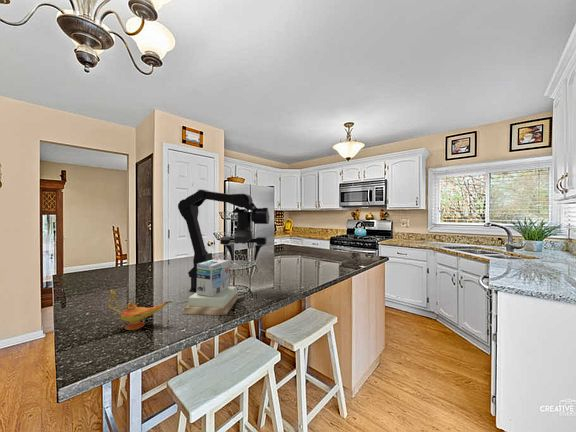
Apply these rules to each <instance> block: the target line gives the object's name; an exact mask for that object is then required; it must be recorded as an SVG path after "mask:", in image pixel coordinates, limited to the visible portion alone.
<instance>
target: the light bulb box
mask: <svg viewBox="0 0 576 432" xmlns="http://www.w3.org/2000/svg"><path fill="white" fill-rule="evenodd" d="M229 277H230V260H227V259H219V258H213V260H209V261H206V262H202V263H198V264H197V291H196V292H197V294H199V295H205V296H210V297H212V296H214V295H216V294H218V293H221V292H223V291H225V290H227V289H229V286H230V285H229V284H230V283H229V282H230V280H229Z"/></svg>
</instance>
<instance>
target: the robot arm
mask: <svg viewBox="0 0 576 432" xmlns="http://www.w3.org/2000/svg"><path fill="white" fill-rule="evenodd" d="M206 200H209V201H214V202H215V201H216V202H222V203H228V204H230V205H233V206H235V209H233V210H232V214H236V215H237V218H236V221H237V226H236V231H235V233H234V235H233V236H231V235H229V236H223V237H221V238H220V242H219V243H220V245H223V247H225V248H227V250H228V252H229V255H230V257H231V260H232V262H234V261H235V244H243V245H244V244H247V243H248V244H249V243H251V244H253V243H254V244H256V245H254V258H253V260H254V262H256V261H257V258H258V255H259V252H260V250H261V248H262V247H264V246H266V244H268V237H267V236H257V237H256V238H255V237H254V238H253V231H252V222H253V224H254V225H269V222H270V213H269V208H268V207H263V208H262V207H258V208H257V206H256V205H255V204H254V201H253V198H252V196H251V195H250V194H246V193H224V192H217V191H210V190H206V189H198V190H197V191H196V192H194V193H193V194H191V195H189V196H187V197H186V198H184V199H181V200H180V201H179V202H178V204H177V209H178V211H179V213H180V215H181V217H182V218H183V219H184V221H185V223H186V226H187V230H188V233H189V237H190V241H191V246H192V249H193V253H194V254H193V261H192V262H193V266H192V268H191V269H190V270H189V271H188V272H187V274H188V276H189V278H190V289H189V292H197V264H198V263H202V262H206V261H209V260H213V259H214V258H213V253H212V252H208V251H207V249H206V246H205V242H204V238H203V235H202V231H201V227H200V223H199V220H198V218H199V207H200V206H202V205H203V204H204V202H205V201H206Z"/></svg>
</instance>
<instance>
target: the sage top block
mask: <svg viewBox="0 0 576 432" xmlns="http://www.w3.org/2000/svg"><path fill="white" fill-rule="evenodd" d="M236 293H237V286H233V285H232V286H231V285H229V289H227V290H225V291H223V292H221V293H218V294H216V295H214V296H212V297H210V296H205V295H199V294H197V291H195V293H193V294H192V295H190V296H189V297H188V304H189V306H192V307H214V308H224V307H225V306H226V305H227V304H228V303H229V301H230V300H231V299H232V298H233V297H234V296H235V295H236Z"/></svg>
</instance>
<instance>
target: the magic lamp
mask: <svg viewBox="0 0 576 432" xmlns="http://www.w3.org/2000/svg"><path fill="white" fill-rule="evenodd" d="M116 294H117V293H116V291H115V290H113V289H111V290H110V293H109V296H110V298H109V300H108V302H107V307H108V308H109V309H111V310H113V311H114V312H117V313H118V314H120V317H119V318H118V317H116V319H117V320H120V319H121V320H122V321H124V322H129V323H128V324H126V325H125V327H124V329H125V330H128V331H131V330H132V331H133V330H138V329H140V328H142V327H143V326H145V322H143V321H141V320H143V319H145V318H148V317H150V316H152V315H154V314H155V313H157V312H158V311H160V310H162V309H163V308H164V307H165V306H166V305H168V304H170V303H173V301H172V300H169V301H165V302H162V303H160V304H157V305H156V306H151V307H146V306H145V307H144V306H137V305H136V304H134V303H133V300H132V301H129V304H128V305H126V306H123V307H121V306H120V304H118V301H117V299H116ZM111 300H114V302H115V303H114V304H115V305H116V306H117V307H118V308H119V309H121V310H123V311H120V310H118V309H116V308H113V307H111V306H110V302H111ZM124 309H125V310H124Z"/></svg>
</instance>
